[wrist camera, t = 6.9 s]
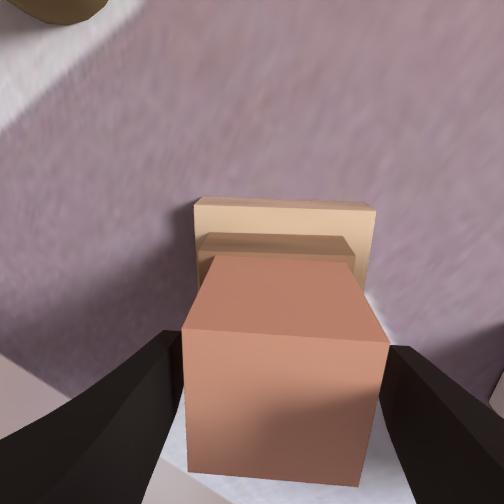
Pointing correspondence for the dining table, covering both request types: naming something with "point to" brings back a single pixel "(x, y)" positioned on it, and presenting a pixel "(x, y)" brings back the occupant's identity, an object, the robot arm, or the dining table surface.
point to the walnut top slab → (274, 248)
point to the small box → (498, 397)
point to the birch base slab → (289, 222)
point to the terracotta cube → (281, 371)
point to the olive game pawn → (60, 9)
